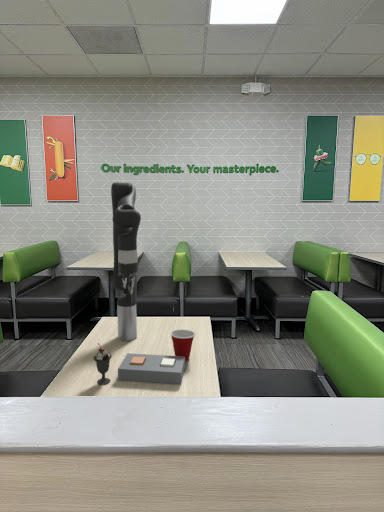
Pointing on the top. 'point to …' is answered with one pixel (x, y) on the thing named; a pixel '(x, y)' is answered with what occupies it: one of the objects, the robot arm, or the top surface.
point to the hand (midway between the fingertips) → (129, 302)
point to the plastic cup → (182, 342)
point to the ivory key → (168, 362)
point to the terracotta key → (137, 361)
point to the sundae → (102, 365)
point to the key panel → (152, 370)
